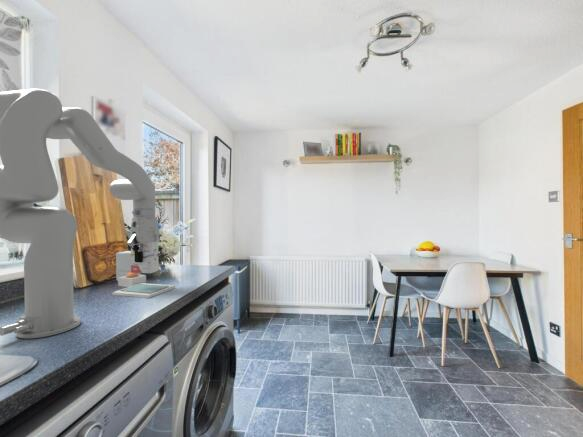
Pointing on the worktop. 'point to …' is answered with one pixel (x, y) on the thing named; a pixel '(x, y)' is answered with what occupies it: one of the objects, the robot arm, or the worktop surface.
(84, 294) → the worktop surface
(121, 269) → the supplement box
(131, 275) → the button
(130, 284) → the button housing
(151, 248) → the ink cartridge box
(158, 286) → the picture board
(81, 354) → the worktop surface
